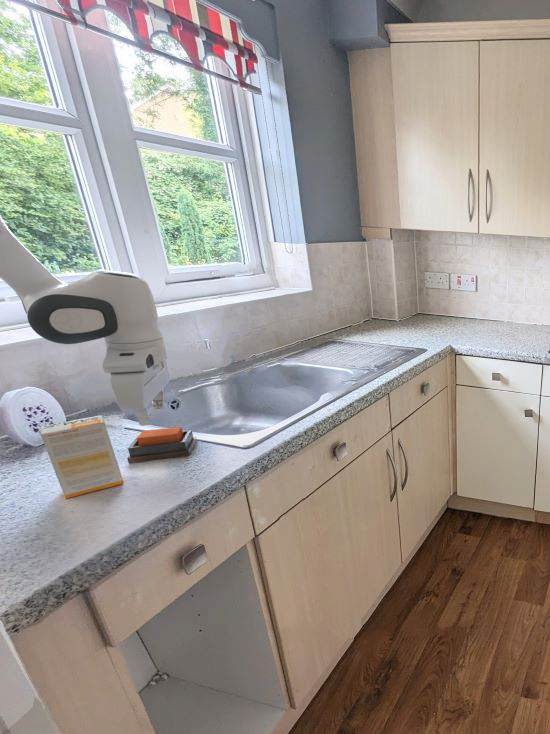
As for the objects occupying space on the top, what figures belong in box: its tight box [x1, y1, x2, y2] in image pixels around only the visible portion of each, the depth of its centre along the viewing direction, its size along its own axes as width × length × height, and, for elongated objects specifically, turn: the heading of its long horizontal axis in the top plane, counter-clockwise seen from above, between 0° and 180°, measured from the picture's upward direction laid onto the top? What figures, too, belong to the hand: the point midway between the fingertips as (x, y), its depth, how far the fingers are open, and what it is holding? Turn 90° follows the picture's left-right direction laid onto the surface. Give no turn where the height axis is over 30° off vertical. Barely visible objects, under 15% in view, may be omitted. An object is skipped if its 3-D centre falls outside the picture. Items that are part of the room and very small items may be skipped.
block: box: [136, 426, 184, 446], centre depth 98 cm, size 7×4×4 cm, turn 114°
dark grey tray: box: [127, 429, 198, 464], centre depth 99 cm, size 10×8×3 cm
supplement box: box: [40, 414, 124, 499], centre depth 83 cm, size 8×5×13 cm, turn 134°
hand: (153, 415), depth 96 cm, fingers open, 8 cm apart
